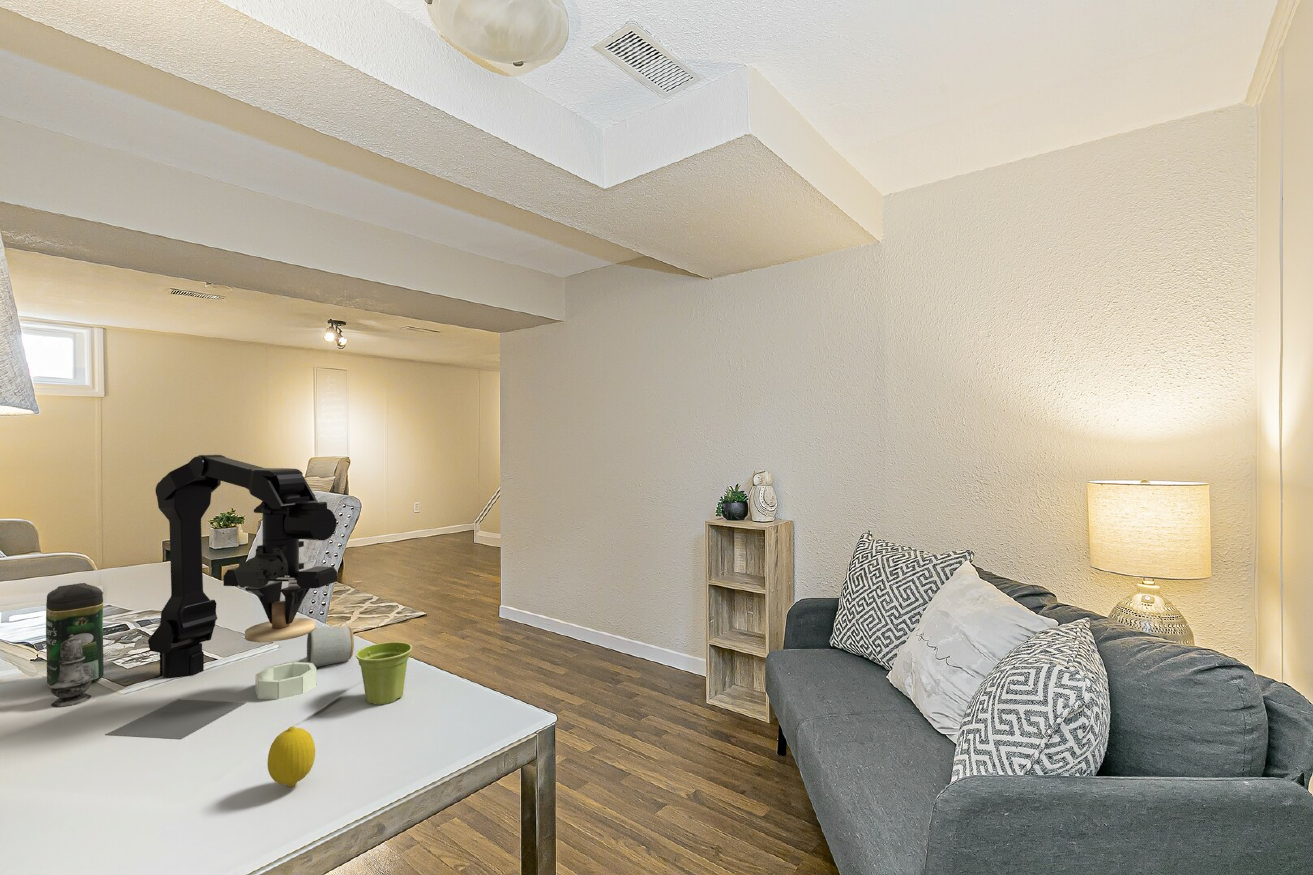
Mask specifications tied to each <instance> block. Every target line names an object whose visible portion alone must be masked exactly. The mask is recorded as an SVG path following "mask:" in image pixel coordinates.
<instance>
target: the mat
mask: <svg viewBox="0 0 1313 875" xmlns="http://www.w3.org/2000/svg"><path fill="white" fill-rule="evenodd" d="M245 704H247V702H244V701H243V702H242V701H223V700H202V699H184V698H182V699H181V698H180V699H179V698H178V699H176V700H174V701H172V702H170V703H168V704H166V705H163V706H161V707H159V708H157V709H155V710H152V711H151V712H149V713H147V714H144V715H142V716H141V717H138V718H137V719H134V720H132V721H130V722H128V723H125V724H123V725H122V726H120V727H118V728H115V729H113V730H112V731H110V732H107V733H105V734H104V736H114V737H115V736H117V737H131V738H132V737H133V738H150V739H151V738H152V739H170V740H182V739H185V738H186V737H188V736H190V735H192V734H193V733H196V732H197V731H199V730H201V729H202V728H204V727H206V726H208V725H210V724H212V723H213V722H215V721H217V720H219V719H220V718H222V717H224V716H226V715H228V714H229V713H232V712H233V711H235V710H236V709H238V708H240V707H242V706H244V705H245Z"/></svg>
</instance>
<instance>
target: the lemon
mask: <svg viewBox="0 0 1313 875" xmlns="http://www.w3.org/2000/svg"><path fill="white" fill-rule="evenodd" d="M314 741H315V740H314V739H313V737H312V734H311V733H310V732H309V731H307V730H306V729H304V728H301V727H296V726H290V727H289V726H288V728H287V729H285V730H284V731H282V732H280V733H279V734H278V735H277V736H276V737H275V738H274V740H273V742H272V743H271V744H270V747H269V751H268V756H267V770H268V773H269V776H270V778H271V779H272V780H273V781H274V782H275V783H278V784H279V785H283V786H288V787H289V788H292V787H294V786H296V784H297V783H299V782H300V781H301V780H303V779H305V777H307V775H308V774H309V773H310V771H311V769H312V768H313V766H314V762H315V759H316V747H315V742H314Z"/></svg>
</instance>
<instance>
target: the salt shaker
mask: <svg viewBox="0 0 1313 875" xmlns="http://www.w3.org/2000/svg"><path fill="white" fill-rule="evenodd" d="M69 637H70V639H68V640H66V641H64V642H63V643H62V644H61V646H60V660H59V661H58V662H57V663H58V664H60V674H59V678H58V679H57V680H56V681H54V682H52V683H50V684H49V685H48V688H50V691H51V693H52V695H53V696H54V697H56V698H57V699H55V700H54V701H52V702H51V703H50V707H52V708H67V707H72V706H77V705H79V704H82V703H83V704H84V703H85V702H87V701H89V700H90V699H92V695H91V694H90V693H89V694H88V693H86V692H87V690H88V689H89V688H90V686H91V684H92V683H91V680H92V679H93V678H94V677H93V676H92V675H86V674H85V673H84V671H83V659H85V656H82V641H81V640H80V639H75V638H73V634H71V635H70V636H69Z"/></svg>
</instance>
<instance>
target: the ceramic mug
mask: <svg viewBox="0 0 1313 875" xmlns="http://www.w3.org/2000/svg"><path fill="white" fill-rule="evenodd" d="M306 636H307V637H306V663H313V664H314V666H315V667H316V668H317V667H323V666H328V665H332V664H333V665H334V664H338V663H339V664H340V663H343V662H347V661H349V660H350V659H352V658H353V654H354V650H355V649H354V648H355V639H354V631H353V628H351V627H350V626H347V625H346V626H345V625H344V626H343V625H340V626H338V625H337V626H330V627H329V626H328V627H317V628H316V627H315V630H314V631H312V632H311V633H308V634H307V635H306Z"/></svg>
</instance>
